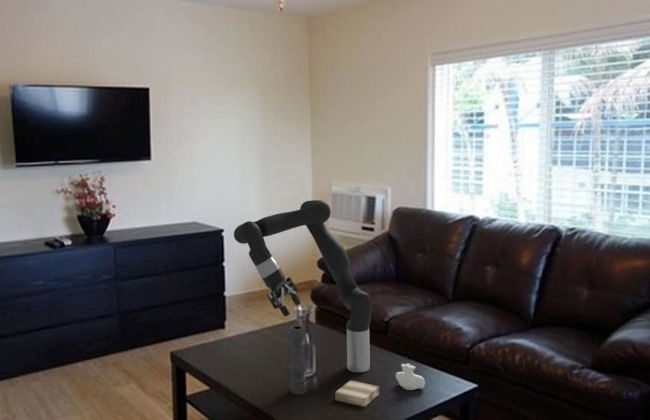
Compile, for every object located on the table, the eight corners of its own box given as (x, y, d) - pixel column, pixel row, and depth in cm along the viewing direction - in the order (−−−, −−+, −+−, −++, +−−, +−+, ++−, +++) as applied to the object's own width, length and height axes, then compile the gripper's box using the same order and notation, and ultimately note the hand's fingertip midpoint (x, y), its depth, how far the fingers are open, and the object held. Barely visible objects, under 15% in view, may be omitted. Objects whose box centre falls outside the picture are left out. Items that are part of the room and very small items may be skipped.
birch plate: (350, 387, 228) (350, 380, 228) (379, 394, 222) (379, 386, 222) (335, 399, 218) (335, 392, 218) (364, 407, 212) (364, 399, 212)
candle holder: (292, 395, 222) (290, 331, 219) (289, 388, 228) (287, 326, 225) (308, 393, 224) (307, 329, 221) (304, 386, 230) (303, 324, 227)
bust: (395, 390, 230) (387, 375, 223) (401, 373, 235) (393, 357, 228) (424, 397, 224) (416, 381, 217) (430, 379, 228) (423, 363, 221)
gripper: (272, 267, 222) (294, 304, 223) (252, 283, 210) (276, 322, 211) (287, 260, 218) (309, 297, 219) (267, 276, 206) (291, 316, 207)
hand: (293, 309), depth 215 cm, fingers open, 8 cm apart
